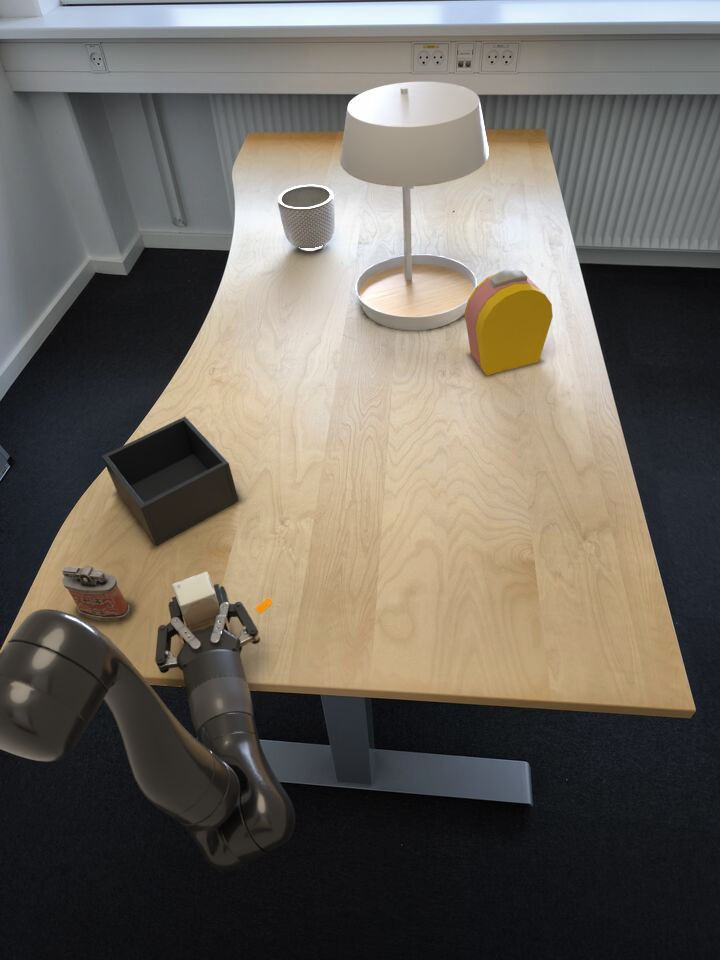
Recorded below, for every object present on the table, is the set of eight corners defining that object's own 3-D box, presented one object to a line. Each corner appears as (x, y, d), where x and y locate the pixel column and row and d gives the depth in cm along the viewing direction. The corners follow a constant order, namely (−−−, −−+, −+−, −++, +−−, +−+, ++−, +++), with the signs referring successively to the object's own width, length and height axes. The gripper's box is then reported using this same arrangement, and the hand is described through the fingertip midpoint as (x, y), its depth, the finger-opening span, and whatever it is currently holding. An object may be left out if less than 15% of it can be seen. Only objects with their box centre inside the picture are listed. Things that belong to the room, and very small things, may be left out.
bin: (156, 546, 119) (140, 508, 112) (117, 493, 128) (101, 455, 122) (238, 500, 125) (228, 462, 118) (196, 453, 134) (185, 416, 128)
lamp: (369, 347, 154) (355, 136, 124) (340, 280, 175) (321, 85, 145) (500, 321, 158) (516, 110, 128) (456, 259, 178) (461, 64, 148)
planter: (273, 249, 188) (265, 200, 179) (310, 228, 195) (304, 180, 186) (312, 264, 181) (306, 214, 172) (349, 241, 188) (345, 192, 179)
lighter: (134, 604, 111) (114, 562, 104) (125, 623, 108) (104, 581, 101) (85, 598, 112) (62, 557, 105) (75, 617, 110) (51, 576, 103)
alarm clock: (527, 338, 153) (536, 257, 140) (546, 360, 147) (557, 277, 134) (461, 355, 150) (464, 274, 137) (478, 377, 144) (483, 295, 132)
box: (195, 653, 104) (177, 607, 96) (188, 629, 107) (169, 583, 99) (231, 638, 105) (215, 592, 97) (222, 616, 108) (206, 569, 100)
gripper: (270, 662, 90) (241, 562, 102) (153, 700, 88) (138, 592, 99) (278, 693, 95) (250, 594, 107) (169, 729, 93) (152, 624, 104)
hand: (196, 594), depth 103 cm, fingers closed on box, 5 cm apart
